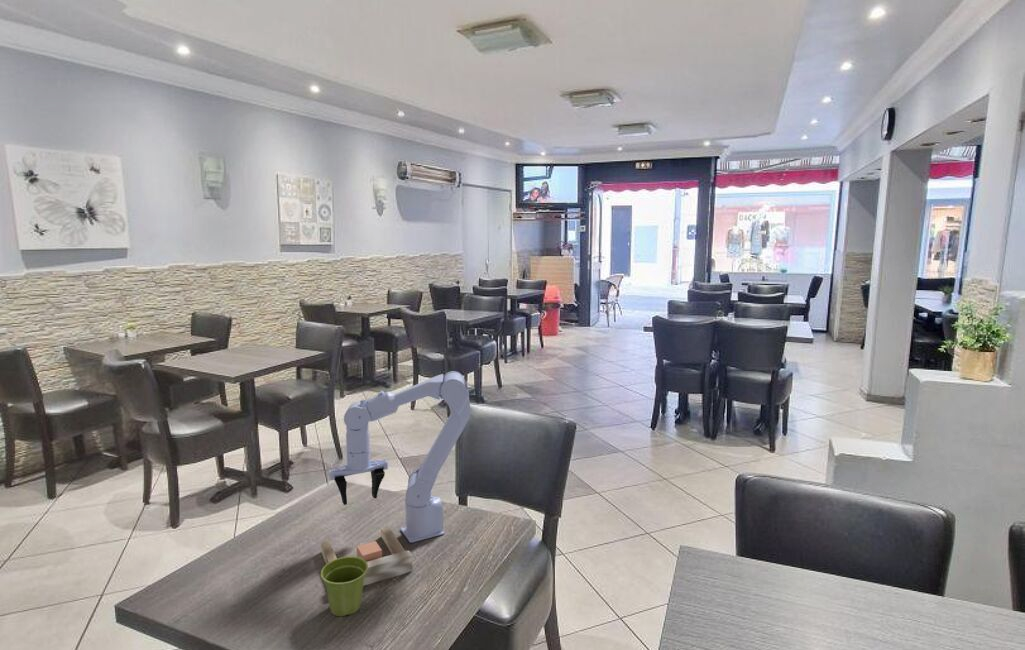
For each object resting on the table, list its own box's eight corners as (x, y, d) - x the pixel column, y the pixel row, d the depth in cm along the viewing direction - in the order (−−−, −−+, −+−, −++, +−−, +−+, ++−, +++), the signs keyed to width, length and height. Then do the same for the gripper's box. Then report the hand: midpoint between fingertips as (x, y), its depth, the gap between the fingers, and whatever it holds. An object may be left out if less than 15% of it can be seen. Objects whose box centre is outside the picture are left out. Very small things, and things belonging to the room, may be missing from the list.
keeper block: (376, 562, 130) (375, 541, 129) (382, 572, 126) (381, 550, 125) (357, 568, 127) (356, 546, 126) (363, 578, 123) (362, 555, 123)
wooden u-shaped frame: (388, 534, 142) (388, 520, 141) (412, 571, 126) (412, 555, 126) (321, 551, 134) (320, 536, 133) (337, 593, 118) (337, 576, 117)
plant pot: (377, 598, 116) (376, 561, 115) (351, 627, 107) (349, 587, 106) (341, 589, 119) (339, 552, 118) (312, 616, 110) (310, 577, 109)
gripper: (381, 440, 145) (382, 488, 147) (325, 449, 138) (327, 499, 140) (389, 448, 139) (390, 498, 141) (331, 458, 132) (333, 511, 134)
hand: (359, 499), depth 140 cm, fingers open, 7 cm apart
